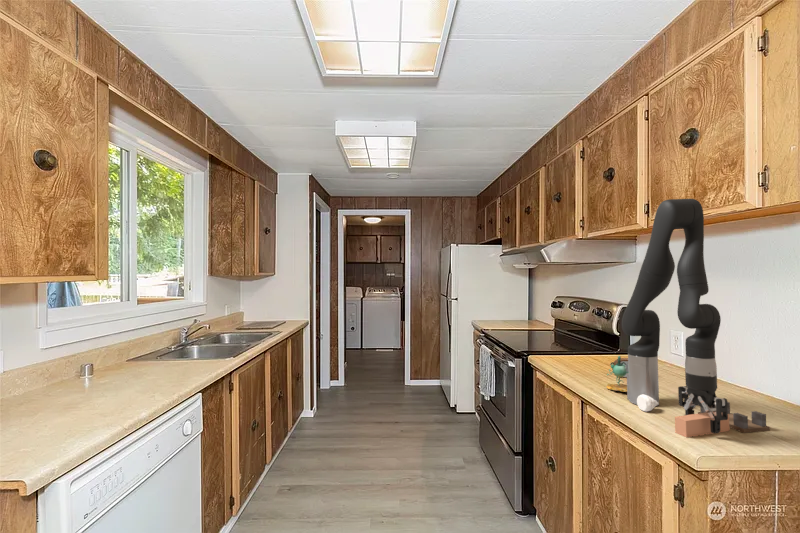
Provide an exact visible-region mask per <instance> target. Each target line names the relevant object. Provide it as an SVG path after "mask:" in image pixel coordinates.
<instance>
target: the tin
mask: <svg viewBox="0 0 800 533" xmlns="http://www.w3.org/2000/svg"><path fill="white" fill-rule="evenodd" d="M613 362H614V366H615V365H616V364H617V363H618V358H617V359H615V360H614V361H613ZM622 362H624V363H626V365H625V364H624V363H623V364H624V365H625V368H626V372H629V371H628V357H621V363H622ZM611 370H613V368H611ZM621 378H622V379H627V373H626V375H625V376H623V377H621Z"/></svg>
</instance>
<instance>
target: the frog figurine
mask: <svg viewBox="0 0 800 533" xmlns="http://www.w3.org/2000/svg"><path fill="white" fill-rule="evenodd" d="M621 358H622V357H621V355H618V356H617V359H618V363H617V364H616V365H615V366H614V361H613V362H612V361H611V362H610V364H609V365H610V369H609V368H608V371H609V372H610V373H607V374H606V376H610V375H612V374H613V375H614V376H616V383H607V385H606V389H607V390H611V391H617V392H625V393H627V384H624V381H623V380H622V379H621V378H622V377H623V376H625V375H626V373H629V372H626V368H625V365H626V363H624V362H622V363H621ZM623 363H624V364H625V365H624V364H623ZM612 368H613V369H612ZM611 369H612V371H611ZM620 382H622V383H620Z"/></svg>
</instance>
